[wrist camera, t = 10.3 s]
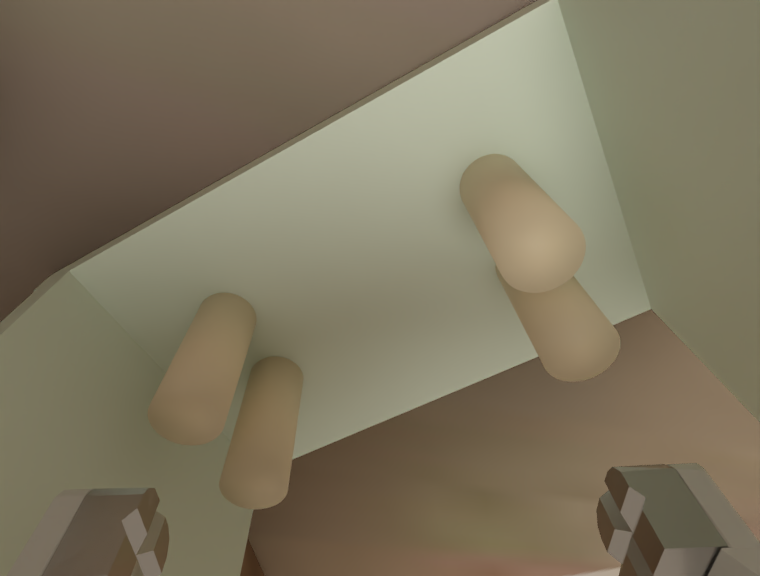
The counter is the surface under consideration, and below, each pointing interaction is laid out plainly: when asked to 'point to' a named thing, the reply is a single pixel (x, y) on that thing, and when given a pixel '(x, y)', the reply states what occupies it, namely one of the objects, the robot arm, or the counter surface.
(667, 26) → the pegged wall bracket
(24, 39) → the counter surface
